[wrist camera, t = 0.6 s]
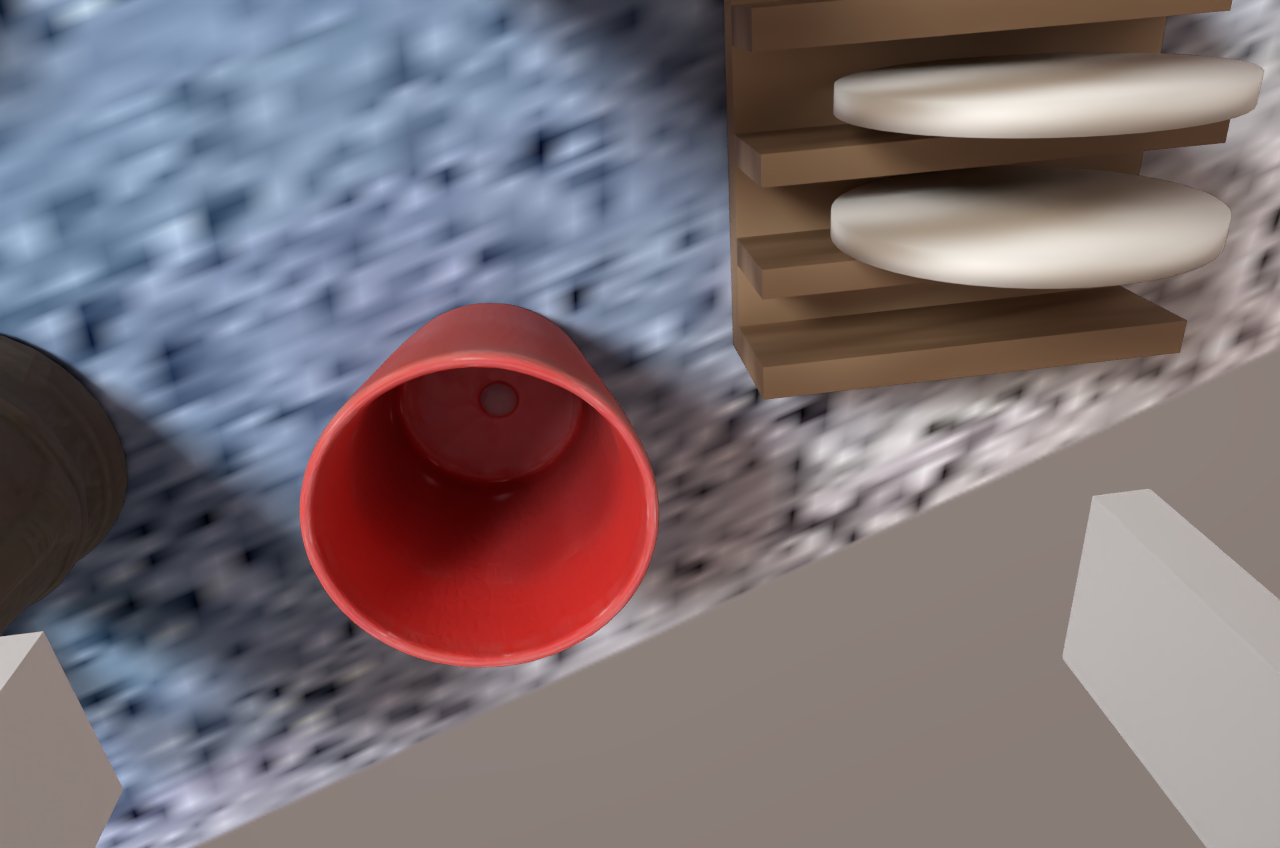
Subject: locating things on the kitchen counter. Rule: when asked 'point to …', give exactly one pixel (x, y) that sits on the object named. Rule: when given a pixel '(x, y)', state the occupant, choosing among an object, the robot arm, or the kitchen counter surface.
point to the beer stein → (50, 476)
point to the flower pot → (481, 494)
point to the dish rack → (961, 184)
